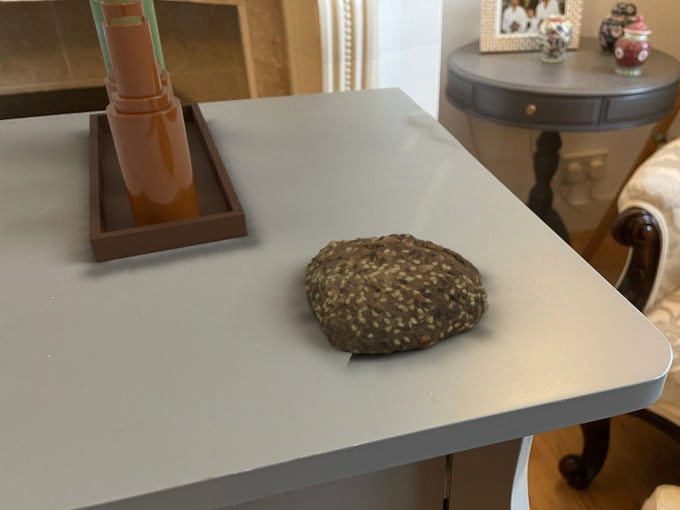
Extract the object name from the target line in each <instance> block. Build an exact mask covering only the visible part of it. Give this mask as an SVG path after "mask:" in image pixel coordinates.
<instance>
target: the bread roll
mask: <svg viewBox="0 0 680 510" xmlns="http://www.w3.org/2000/svg"><path fill="white" fill-rule="evenodd" d="M304 269H305V285H304V291H305V293H306V297H307V299H308V303H309V306H310V309H311V310H312V312H313V314H314V316H315V318H316V319H317V320H318V321H319V323H320V326H321V327H322V331H323V332H324V334H325V335H326V337H327V339H328V342H330V343H331V345H332V346H334V347H335V348H336V349H338V350H339V351H342V352H351V353H352V354H362V353H364V354H387V355H390V354H392V353H393V352H394V351H395V352H396V351H409V350H425V349H427V348H431V347H434V346H436V345H437V344H438V343H439V342H440V341H441V340H444V339H446V338H448V337H451V336H454V335H456V334H460V333H464V332H467V331H471V330H473V329H475V327H476V326H477V325H478V324H480V322H481V321H482V319H483V317H484V316H485V314H486V313H487V311H488V310H489V307H490V304H489V301H488V300H487V299H488V296H489V295H488V292H487V290H486V288H485V287H484V286H483V283H482V274H481V273H480V270H479V268H478V267H477V266H475V265H474V264H473V263H472V261H470V260H468V259H466V258H464V257H463V256H462V255H461V254H460V253H458V252H457V251H455V250H453V249H450V248H448V247H443V245H441V244H436V243H434V242H432V241H431V240H425V239H420V238H419V239H418V238H417V237H415V236H414V235H413V234H410V233H399V234H398V233H391V234H389V235H381V236H379V237H378V236H377V237H376V236H369V237H357V238H355V239H347V240H345V239H341V240H330V241H329V242H328V244H327V245H326V246H325V247H323V248H320V250H319V251H318V254H315V255H314V257H312V258H311V262H310V263H307V265H306V267H305V268H304Z"/></svg>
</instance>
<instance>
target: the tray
mask: <svg viewBox="0 0 680 510" xmlns="http://www.w3.org/2000/svg"><path fill="white" fill-rule="evenodd" d="M181 108H182V113H183V119H184V124H185V130H186V135H187V141H188V146H189V152H190V157H191V163H192V168H193V173H194V179H195V184H196V190H197V195H198V201H199V206H200V212H201V217H196V218H190V219H184V220H178V221H172V222H166V223H160V224H154V225H148V226H142V227H136V228H135V224H134V220H133V216H132V212H131V208H130V204H129V200H128V196H127V192H126V188H125V184H124V180H123V176H122V172H121V168H120V164H119V160H118V156H117V152H116V148H115V144H114V140H113V136H112V132H111V128H110V124H109V120H108V116H107V112H106V111H105V112H99V113H90V114H89V116H88V117H89V120H88V121H89V123H88V125H89V126H88V127H89V131H88V134H89V137H88V138H89V146H88V147H89V149H88V152H89V161H88V162H89V164H88V165H89V167H88V169H89V172H88V173H89V177H88V178H89V179H88V180H89V181H88V182H89V183H88V185H89V196H88V197H89V198H88V199H89V202H88V204H89V206H88V207H89V210H88V211H89V212H88V213H89V215H88V218H89V219H88V220H89V222H88V223H89V243H90V247H91V250H92V253H93V256H94V260H95V263H96V264H100V263H104V262H105V263H106V262H111V261H116V260H122V259H127V258H132V257H139V256H144V255H150V254H154V253H160V252H161V253H162V252H167V251H171V250H177V249H184V248H189V247H194V246H200V245H205V244H210V243H211V244H212V243H217V242H222V241H227V240H232V239H238V238H239V239H240V238H244V237H248V226H247V220H246V219H247V218H246V214H245V211H244V209H243V206H242V204H241V201H240V199H239V197H238V194H237V192H236V189H235V187H234V186H233V182H232V180H231V179H230V175H229V174H228V171H227V169H226V166H225V163H224V162H223V159H222V158H221V155H220V153H219V149H218V148H217V145H216V143H215V140H214V137H213V136H212V134H211V131H210V129H209V127H208V124H207V122H206V119H205V118H204V115H203V113H202V110H201V108H200V106H199V103H198V101H192V102H184V103H183V102H182V103H181Z"/></svg>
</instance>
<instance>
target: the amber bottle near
mask: <svg viewBox="0 0 680 510" xmlns="http://www.w3.org/2000/svg"><path fill="white" fill-rule="evenodd" d="M102 27H103V32H104V36H105V40H106V44H107V49H108V53H109V57H110V61H111V66H112V70H113V74H114V78H115V83H116V87H117V90H115V91H114V92H113V93H112V95H111V97H112V101H113V102H112V103H109V104H107V106H106V108H105V113H106V112H107V116H108V120H109V124H110V128H111V132H112V136H113V140H114V144H115V148H116V152H117V156H118V160H119V164H120V168H121V172H122V176H123V180H124V184H125V188H126V192H127V196H128V200H129V204H130V208H131V212H132V216H133V220H134V224H135V228H136V227H142V226H148V225H154V224H160V223H166V222H172V221H178V220H184V219H190V218H196V217H201V212H200V206H199V201H198V195H197V190H196V184H195V179H194V173H193V168H192V163H191V157H190V152H189V146H188V141H187V135H186V130H185V124H184V119H183V113H182V108H181V104H182V103H181V100H180V98H178V97H177V96H175V95H174V96H171V93H170V89H169V88H168V87H167V86H165V85H162V83H161V78H160V73H159V67H158V62H157V57H156V52H155V47H154V42H153V37H152V32H151V27H150V22H149V19H148V18H146V17H140V16H125V17H116V18H111V19H107V20H105V21H103V22H102Z"/></svg>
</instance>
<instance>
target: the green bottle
mask: <svg viewBox="0 0 680 510" xmlns="http://www.w3.org/2000/svg"><path fill="white" fill-rule="evenodd" d="M88 1H89V5H90V9H91V13H92V17H93V22H94V26H95V29H96V34H97V38H98V42H99V46H100V50H101V54H102V58H103V63H104V66H105V67H104V68H105V71H106V76H108V75H110V71H109V65H110V64H111V61H110V57H109V53H108V49H107V44H106V40H105V36H104V32H103V27H102V22H103V21H104V17H103V13H102V9H101V5H100V2H101V1H102V0H88ZM142 2H143V7H144V12H145V17H146V18H148V19H149V22H150V27H151V32H152V37H153V42H154V47H155V52H156V57H157V60H159V61H160V62H161V67H162V69H164V70H167V66H166V61H165V57H164V51H163V47H162V39H161V35H160V30H159V24H158V20H157V14H156V10H155V4H154V0H142Z"/></svg>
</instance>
